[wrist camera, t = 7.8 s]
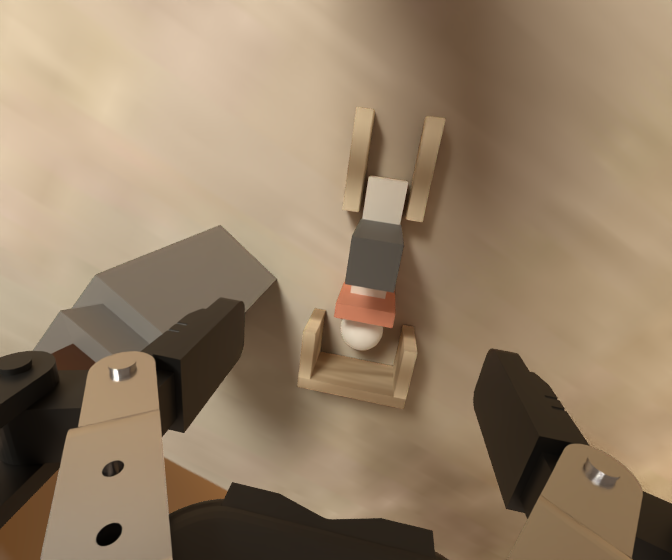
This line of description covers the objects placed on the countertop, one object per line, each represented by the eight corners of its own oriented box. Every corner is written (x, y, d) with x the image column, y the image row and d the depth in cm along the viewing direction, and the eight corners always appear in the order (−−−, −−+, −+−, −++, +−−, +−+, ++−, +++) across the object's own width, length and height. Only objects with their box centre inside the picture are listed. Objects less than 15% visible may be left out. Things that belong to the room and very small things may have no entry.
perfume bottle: (276, 278, 31) (138, 425, 14) (232, 323, 33) (68, 494, 16) (220, 225, 30) (0, 312, 13) (179, 274, 32) (-54, 402, 15)
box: (315, 308, 31) (303, 331, 27) (413, 326, 30) (417, 353, 26) (309, 358, 33) (297, 386, 29) (401, 377, 32) (403, 409, 28)
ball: (340, 316, 27) (335, 354, 28) (386, 324, 27) (378, 362, 28) (346, 297, 30) (341, 332, 32) (386, 304, 30) (379, 339, 31)
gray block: (360, 173, 26) (347, 180, 19) (417, 182, 26) (428, 193, 18) (342, 294, 30) (325, 341, 22) (392, 303, 30) (392, 354, 22)
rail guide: (359, 110, 25) (356, 106, 23) (441, 121, 24) (445, 118, 23) (345, 206, 28) (342, 209, 26) (420, 217, 27) (422, 222, 25)
